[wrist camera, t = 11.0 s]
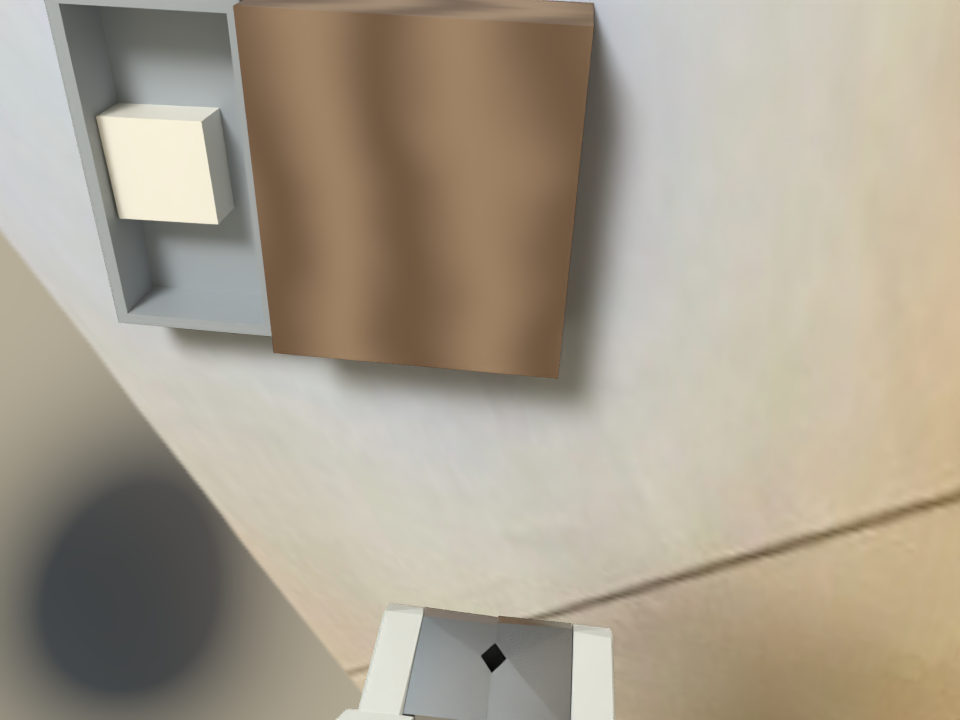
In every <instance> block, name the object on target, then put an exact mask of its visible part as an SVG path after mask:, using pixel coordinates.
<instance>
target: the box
mask: <svg viewBox="0 0 960 720" xmlns="http://www.w3.org/2000/svg"><path fill="white" fill-rule="evenodd" d="M241 1H243V0H44V2H45V6H46V10H47V15H48V19H49V23H50V28H51V32H52V36H53V41H54V45H55V49H56V54H57V58H58V62H59V67H60V71H61V75H62V80H63V84H64V88H65V93H66V97H67V101H68V106H69V110H70V114H71V119H72V123H73V127H74V132H75V136H76V140H77V145H78V149H79V153H80V158H81V162H82V166H83V170H84V175H85V179H86V183H87V188H88V192H89V196H90V201H91V205H92V209H93V214H94V218H95V222H96V227H97V231H98V235H99V240H100V244H101V248H102V253H103V257H104V261H105V266H106V270H107V274H108V279H109V283H110V287H111V292H112V296H113V300H114V305H115V309H116V313H117V318H118V322H119V323H128V324H139V325H150V326H161V327H173V328H184V329H195V330H206V331H218V332H229V333H240V334H251V335H263V336H272V334H271V325H270V317H269V308H268V300H267V291H266V283H265V274H264V266H263V257H262V249H261V240H260V232H259V223H258V215H257V206H256V198H255V189H254V181H253V172H252V164H251V155H250V147H249V138H248V130H247V121H246V113H245V104H244V96H243V87H242V79H241V70H240V62H239V53H238V45H237V36H236V28H235V19H234V11H233V5H235V4H237V3H239V2H241ZM117 103H132V104H152V105H172V106H192V107H212V108H220V115H221V121H222V128H223V134H224V141H225V148H226V154H227V161H228V167H229V174H230V181H231V187H232V194H233V201H234V208H233V209H232V210H231V211H230V213H229V214H228V215H227V216H226V217H225V218H224V219H223V220H222V221H221V222H220V223H219V224H202V223H186V222H170V221H153V220H137V219H121V218H119V215H118V210H117V206H116V202H115V198H114V193H113V189H112V185H111V180H110V176H109V172H108V167H107V163H106V159H105V154H104V150H103V146H102V142H101V137H100V133H99V129H98V124H97V120H96V116H97V115H98V114H100V113H102V112H104V111H105V110H107V109H109V108H110V107H112V106H114V105H116V104H117Z"/></svg>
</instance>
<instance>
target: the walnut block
mask: <svg viewBox="0 0 960 720" xmlns="http://www.w3.org/2000/svg"><path fill="white" fill-rule="evenodd" d="M233 11H234V19H235V28H236V36H237V45H238V53H239V62H240V70H241V79H242V87H243V96H244V104H245V113H246V121H247V130H248V138H249V147H250V155H251V164H252V172H253V181H254V189H255V198H256V206H257V215H258V223H259V232H260V240H261V249H262V257H263V266H264V274H265V283H266V291H267V300H268V308H269V317H270V325H271V334H272V342H273V350H274V353H280V354H291V355H302V356H313V357H325V358H336V359H347V360H358V361H369V362H380V363H391V364H402V365H413V366H424V367H435V368H446V369H457V370H468V371H479V372H490V373H501V374H512V375H523V376H534V377H545V378H556V379H558V373H559V363H560V354H561V344H562V334H563V324H564V314H565V305H566V295H567V285H568V275H569V265H570V256H571V246H572V236H573V226H574V216H575V206H576V197H577V187H578V177H579V167H580V157H581V148H582V138H583V128H584V118H585V108H586V98H587V89H588V79H589V69H590V59H591V49H592V40H593V30H594V3H583V2H565V1H547V0H243V1H241V2H239V3H237V4H235V5H233Z"/></svg>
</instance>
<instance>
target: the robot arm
mask: <svg viewBox="0 0 960 720" xmlns="http://www.w3.org/2000/svg"><path fill="white" fill-rule="evenodd" d="M335 720H615V687H614V655H613V634H612V632H611V629H610V628H604V627H595V626H586V625H577V624H573V625H572V624H571V623H566V622H555V621H545V620H535V619H525V618H515V617H505V616H499V617H493V616H486V615H479V614H472V613H464V612H457V611H450V610H443V609H436V608H429V607H419V606H411V605H403V604H396V603H389V604H388V606H387V608H386V610H385V612H384V614H383V618H382V621H381V625H380V629H379V633H378V636H377V640H376V644H375V648H374V652H373V655H372V659H371V663H370V667H369V671H368V674H367V678H366V682H365V686H364V689H363V693H362V697H361V701H360V705H359V709H346V710H345V711H344V712H343V713H342V714H341V715H340V716H339V717H338V718H337V719H335Z"/></svg>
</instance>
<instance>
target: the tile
mask: <svg viewBox="0 0 960 720" xmlns="http://www.w3.org/2000/svg"><path fill="white" fill-rule="evenodd" d="M96 120H97V124H98V129H99V133H100V137H101V142H102V146H103V150H104V154H105V159H106V163H107V167H108V172H109V176H110V180H111V185H112V189H113V193H114V198H115V202H116V206H117V210H118V215H119V218H121V219H137V220H153V221H170V222H186V223H202V224H219V223H220V222H221V221H222V220H223V219H224V218H225V217H226V216H227V215H228V214H229V213H230V211H231V210H232V209H233V208H234V201H233V194H232V187H231V181H230V174H229V167H228V161H227V154H226V148H225V141H224V134H223V128H222V121H221V115H220V108H212V107H192V106H172V105H152V104H132V103H117V104H116V105H114V106H112V107H110V108H109V109H107V110H105V111H104V112H102V113H100V114H98V115H97V116H96Z"/></svg>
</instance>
